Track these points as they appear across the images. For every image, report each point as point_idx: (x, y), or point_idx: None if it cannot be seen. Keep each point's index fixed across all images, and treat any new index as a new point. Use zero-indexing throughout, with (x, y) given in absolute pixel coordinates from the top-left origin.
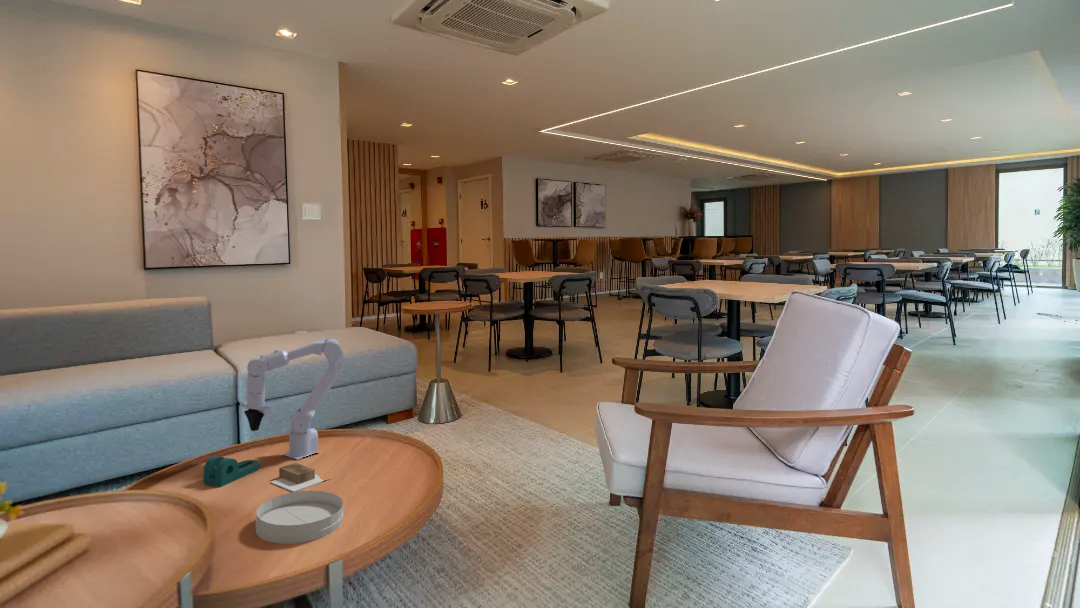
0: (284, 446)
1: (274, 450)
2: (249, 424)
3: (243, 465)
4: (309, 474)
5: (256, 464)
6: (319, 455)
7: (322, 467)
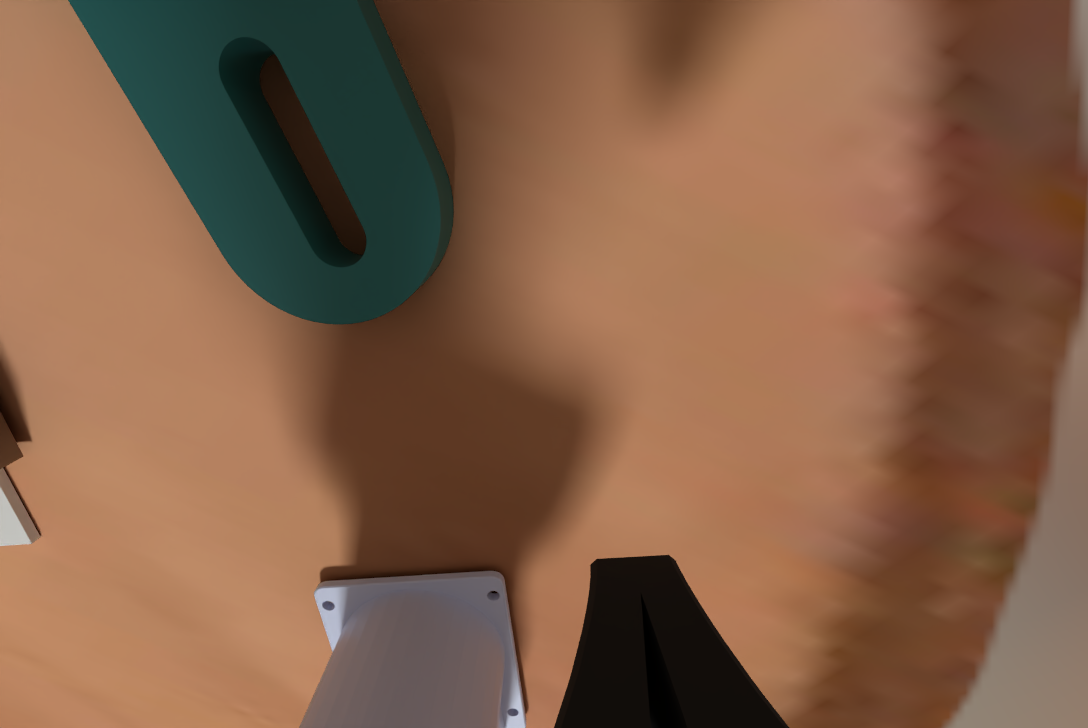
0: None
1: None
2: (720, 651)
3: (331, 153)
4: None
5: (237, 257)
6: None
7: (60, 618)
